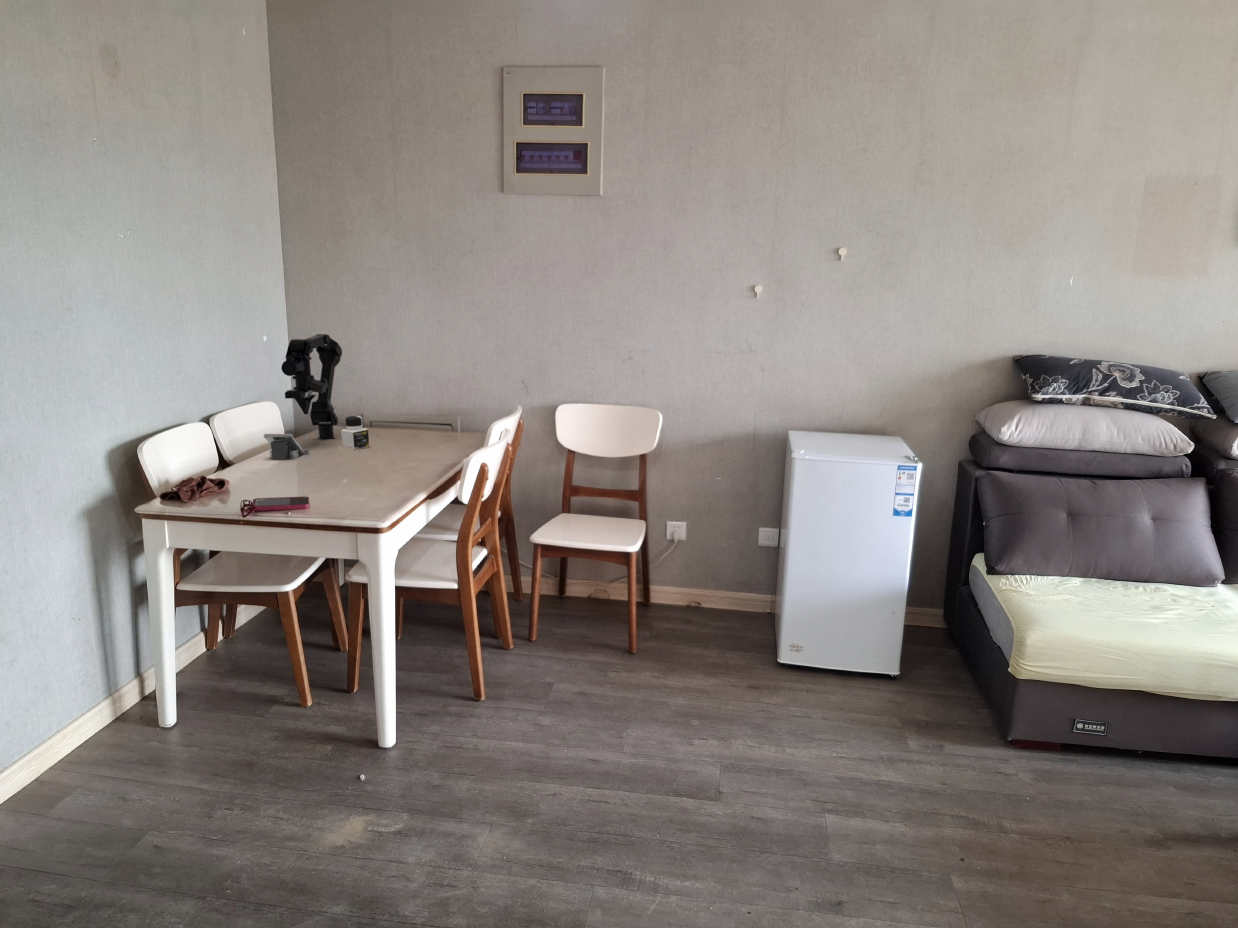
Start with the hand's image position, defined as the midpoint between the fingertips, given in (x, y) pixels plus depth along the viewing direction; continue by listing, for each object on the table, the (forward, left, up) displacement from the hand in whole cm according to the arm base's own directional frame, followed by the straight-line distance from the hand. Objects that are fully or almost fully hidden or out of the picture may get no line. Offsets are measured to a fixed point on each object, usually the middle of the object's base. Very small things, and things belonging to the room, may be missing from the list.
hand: (306, 414), depth 313 cm
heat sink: (+16, -10, -12) cm, 22 cm away
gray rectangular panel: (+16, -10, -8) cm, 20 cm away
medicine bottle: (+7, +16, -13) cm, 22 cm away
